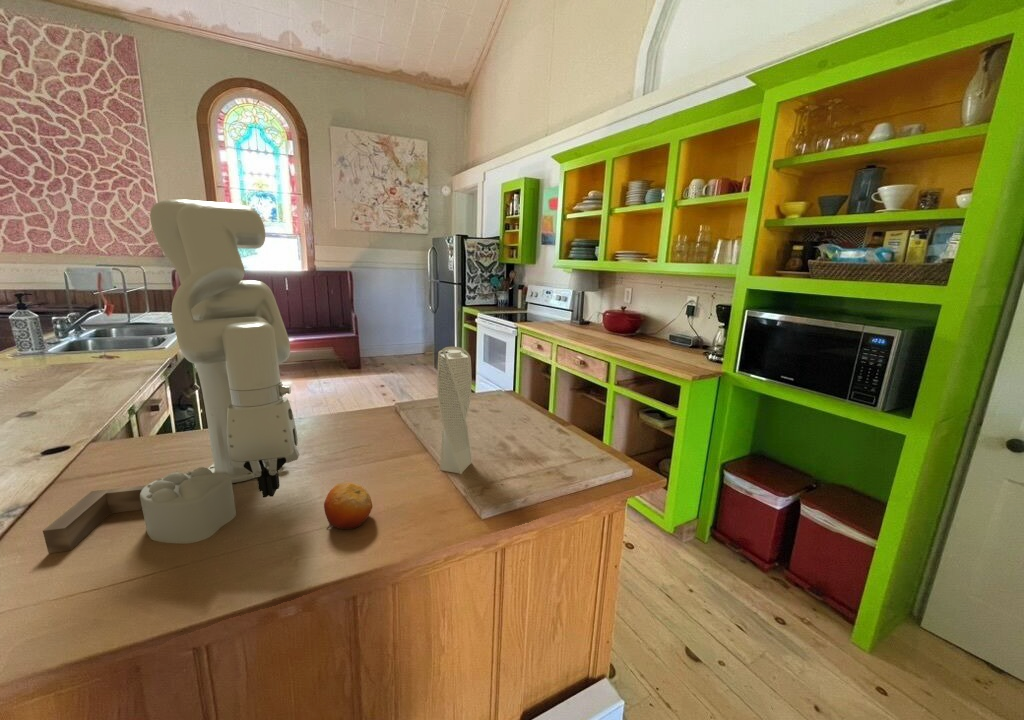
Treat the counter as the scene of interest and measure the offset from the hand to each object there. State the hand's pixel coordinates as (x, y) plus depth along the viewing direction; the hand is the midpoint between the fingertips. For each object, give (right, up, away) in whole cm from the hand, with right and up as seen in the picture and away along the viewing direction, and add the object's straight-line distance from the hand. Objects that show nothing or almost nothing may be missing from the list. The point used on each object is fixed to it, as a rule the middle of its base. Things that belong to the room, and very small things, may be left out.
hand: (270, 493), depth 79 cm
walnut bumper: (-24, -5, -3) cm, 25 cm away
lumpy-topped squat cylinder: (-13, -5, -2) cm, 14 cm away
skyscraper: (+31, 0, +19) cm, 36 cm away
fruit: (+15, -5, -1) cm, 16 cm away
